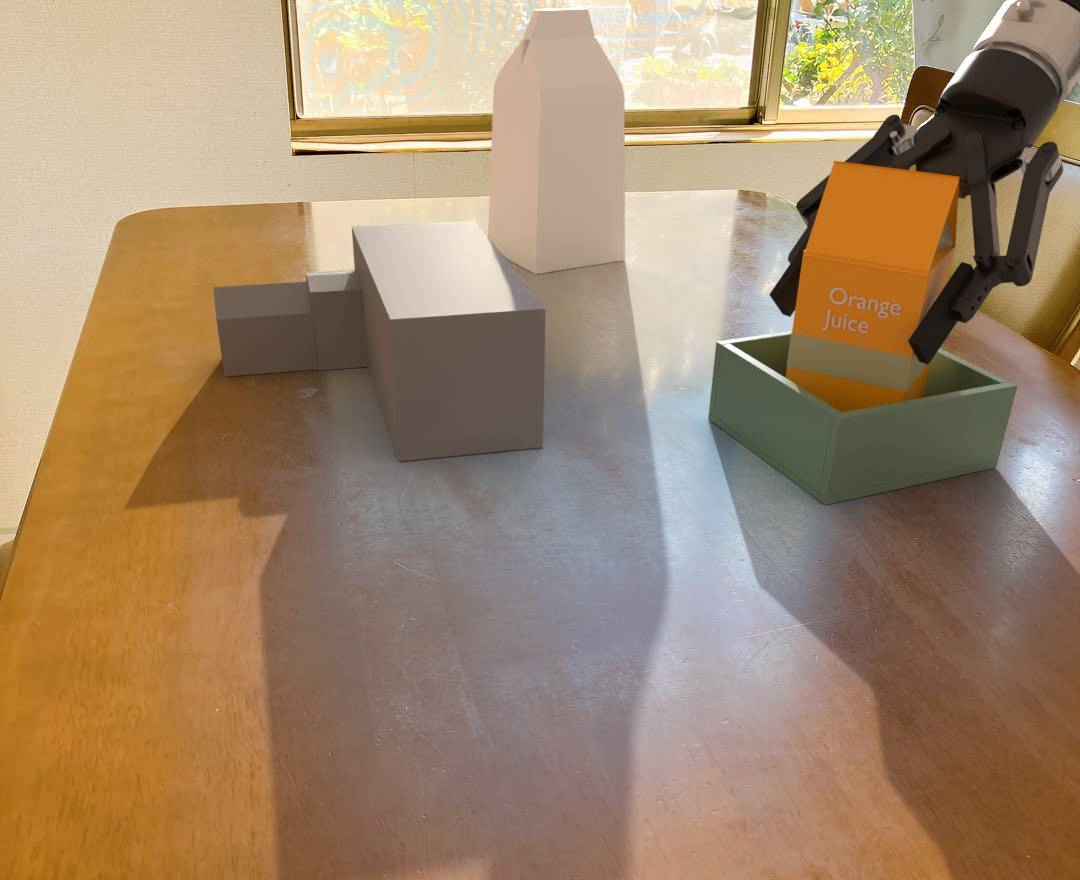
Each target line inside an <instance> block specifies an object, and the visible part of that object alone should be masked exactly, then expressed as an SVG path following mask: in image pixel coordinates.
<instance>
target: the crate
mask: <svg viewBox="0 0 1080 880" xmlns="http://www.w3.org/2000/svg"><path fill="white" fill-rule="evenodd" d="M791 333H792V330H786V331H780V332H779V331H778V332H771V333H765V334H759V335H752V336H751V335H750V336H745V337H738V338H731V339H725V340H718V341H715V342H716V343H715V351H714V360H713V370H712V379H711V389H710V397H709V398H710V399H709V406H708V416H707V419H708V420H709V421H710V422H711V423H713V424H714V425H716V426H717V427H718V428H719V429H721V430H723V432H725V433H726V434H728V435H729V436H730V437H732V438H734V439H735V440H736V441H737V442H739V443H740V444H742V445H743V446H744V447H745V448H747V449H749V450H750V451H751V452H752V453H754V454H755V455H756V456H758V457H759V458H760V459H761V460H763V461H764V462H765V463H767V464H768V465H770V466H771V467H772V468H774V469H775V470H777V471H778V472H779V473H781V474H782V475H784V476H785V477H786V478H788V479H789V480H790V481H792V482H793V483H794V484H795V485H797V486H799V488H801V489H802V490H804V491H805V492H806V493H808V494H809V495H811V496H812V497H813V498H814V499H816V500H817V501H819V502H820V503H821V504H823V505H824V506H828V505H832V504H836V503H841V502H845V501H846V502H847V501H849V500H850V501H851V500H854V499H861V498H863V497H868V496H872V495H877V494H881V493H886V492H891V491H895V490H900V489H904V488H909V487H914V486H919V485H923V484H927V483H933V482H936V481H942V480H947V479H951V478H955V477H956V478H957V477H960V476H964V475H968V474H969V475H970V474H973V473H978V472H983V471H987V470H992V469H996V468H997V466H998V463H999V459H1000V455H1001V451H1002V447H1003V443H1004V441H1005V440H1004V439H1005V436H1006V432H1007V429H1008V425H1009V420H1010V416H1011V413H1012V409H1013V405H1014V401H1015V399H1016V398H1015V397H1016V394H1017V390H1018V385H1017V384H1015V383H1014V382H1011V381H1009V380H1007V379H1005V378H1002V377H1001V376H998V375H996V374H994V373H992V372H991V371H988V370H986V369H984V368H983V367H980V366H978V365H975V364H974V363H971V362H970V361H968V360H965V359H964V358H961V357H959V356H957V355H955V354H953V353H951V352H949V351H947V350H945V349H943V348H941V347H940V348H939V350H938V351H937V353H936V354H935V356H934V357H933V359H932V360H931V364H930V369H929V373H928V378H927V383H926V387H925V392H924V397H923V398H919V399H913V400H908V401H903V402H897V403H892V404H886V405H881V406H875V407H870V408H864V409H859V410H853V411H848V412H843V413H842V412H840V411H839V410H837V409H835V408H834V407H832V406H831V405H829V404H827V403H826V402H824V401H822V400H821V399H819V398H818V397H816V396H814V395H813V394H811V393H809V392H808V391H806V390H805V389H803V388H801V387H800V386H798V385H796V384H795V383H793V382H791V381H790V380H788V379H787V378H786V371H787V359H788V352H789V345H790V338H791Z"/></svg>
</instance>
